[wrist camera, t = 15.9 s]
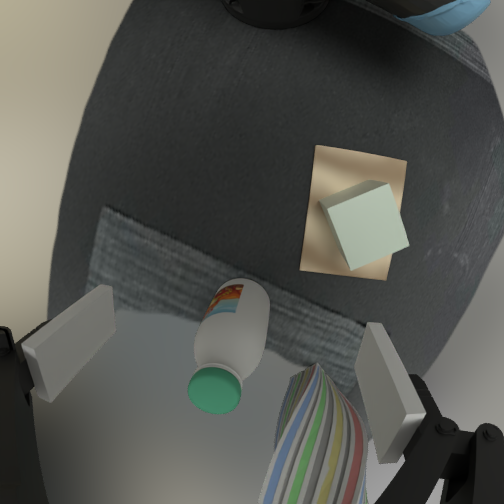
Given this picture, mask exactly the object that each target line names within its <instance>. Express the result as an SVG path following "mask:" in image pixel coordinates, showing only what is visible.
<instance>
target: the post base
mask: <svg viewBox="0 0 504 504" xmlns="http://www.w3.org/2000/svg"><path fill="white" fill-rule="evenodd" d="M406 164H407V161H403V160H398V159H394V158H389V157H384V156H379V155H374V154H368V153H363V152H357V151H352V150H346V149H340V148H333V147H327V146H320V145H315V152H314V161H313V170H312V179H311V187H310V195H309V203H308V211H307V218H306V226H305V233H304V240H303V247H302V254H301V261H300V268H299V269H300V270H302V271H311V272H319V273H327V274H336V275H344V276H352V277H361V278H370V279H378V280H386V279H387V274H388V270H389V265H390V261H391V256H392V254H389V255H387V256H385V257H383V258H380V259H378V260H376V261H373V262H371V263H369V264H366V265H364V266H361V267H359V268H357V269H354V270H352V271H351V270H350V269H349V267H348V265H347V263H346V262H345V260H344V258H343V257H342V255H341V253H340V251H339V249H338V247H337V244H336V241H335V239H334V236H333V234H332V231H331V229H330V226H329V224H328V221H327V219H326V216H325V214H324V211H323V209H322V207H321V204H320V202H319V200H320V199H323V198H325V197H327V196H330V195H332V194H335V193H337V192H339V191H342V190H344V189H347V188H349V187H352V186H354V185H356V184H359V183H361V182H364V181H366V180H369V179H370V180H375V181H380V182H385V183H389V185H390V187H391V190H392V193H393V196H394V199H395V202H396V204H397V207H398V210H399V213H400V207H401V201H402V194H403V187H404V180H405V172H406Z"/></svg>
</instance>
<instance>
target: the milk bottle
mask: <svg viewBox="0 0 504 504" xmlns="http://www.w3.org/2000/svg"><path fill="white" fill-rule="evenodd" d="M269 313H270V300H269V297H268V294H267V293H266V291H265V290H264V288H263V287H262V286H261V285H259V284H258V283H256V282H254V281H252V280H249V279H245V278H237V279H232V280H229V281H227V282H226V283H224V284H223V285H222V286H221V287H220V288H219V289H218V291H217V293H216V294H215V296H214V298H213V300H212V302H211V304H210V305H209V307H208V309H207V311H206V313H205V315H204V317H203V319H202V321H201V323H200V325H199V328H198V330H197V333H196V336H195V340H194V355H195V360H196V363H197V367H198V368H197V369H196V370H195V371H194V373H193V376H192V378H191V380H190V383H189V385H188V395H189V398H190V400H191V401H192V403H193V404H194V405H195V406H196V407H198V408H199V409H201V410H203V411H205V412H208V413H212V414H225V413H228V412H230V411H232V410H233V409H235V408H236V406H237V405H238V403H239V401H240V397H241V391H242V386H243V385H242V381H243V380H244V379H246V378H247V377H248V376H249V375H251V374H252V373H253V372H254V370H255V369H256V368H257V366H258V365H259V363H260V361H261V359H262V356H263V353H264V348H265V343H266V337H267V330H268V322H269Z"/></svg>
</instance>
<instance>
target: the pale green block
mask: <svg viewBox="0 0 504 504" xmlns="http://www.w3.org/2000/svg"><path fill="white" fill-rule="evenodd" d="M319 202H320V204H321V207H322V209H323V211H324V214H325V216H326V219H327V221H328V224H329V226H330V229H331V231H332V234H333V236H334V239H335V241H336V244H337V247H338V249H339V251H340V253H341V255H342V257H343V258H344V260H345V262H346V263H347V265H348V267H349V269H350V270H351V271H352V270H354V269H357V268H359V267H361V266H364V265H366V264H369V263H371V262H373V261H376V260H378V259H380V258H383V257H385V256H387V255H389V254H392V253H394V252H396V251H399V250H401V249H403V248H405V247H408V246H409V242H408V239H407V236H406V232H405V229H404V226H403V223H402V220H401V217H400V213H399V210H398V207H397V204H396V202H395V199H394V196H393V193H392V190H391V187H390V185H389V183H385V182H380V181H375V180H370V179H369V180H366V181H364V182H361V183H359V184H356V185H354V186H352V187H349V188H347V189H344V190H342V191H339V192H337V193H335V194H332V195H330V196H327V197H325V198H323V199H320V200H319Z"/></svg>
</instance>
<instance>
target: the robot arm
mask: <svg viewBox="0 0 504 504" xmlns="http://www.w3.org/2000/svg"><path fill="white" fill-rule="evenodd" d="M366 1H368V2H370V3H372V4H374V5H376V6H378V7H380V8H382V9H384V10H386V11H388V12H389V13H391V14H393V16H394V17H395V18H397V19H399V20H401V21H406V22H408V23H409V24H411V25H413V26H415V27H417V28H418V29H420V30H422V31H423V32H425V33H427V34H430V35H440V36H445V35H450V34H452V33H455V32H457V31H459V30H461V29H463V28H464V27H466V26H467V25H469V24H470V23H471V22H473V21H474V20H475V19H476V18H477V17H479V15H481V14H482V13H483V12H484V11H485V9H486V8H487V7H488V6H489V5H490V3H491V2H490V0H366ZM222 2H223V4H224V6H225V7H226V8H227V10H228V11H229V12H230V13H231V14H232V15H233V16H235V17H236V18H238V19H239V20H241V21H243V22H245V23H247V24H250V25H253V26H256V27H260V28H267V29H285V28H292V27H296V26H300V25H302V24H305V23H307V22H309V21H311V20H313V19H314V18H316V17H317V16H318V15H319V14H321V13H322V11H323V10H324V9H325V8H326V6H327V4H328V2H329V0H222ZM115 332H116V325H115V314H114V303H113V289H112V286H107V285H102V284H100V285H99V286H97V287H96V288H95V289H93V290H92V291H90V292H89V293H88V294H86V295H85V296H84V297H82V298H81V299H79V300H78V301H77V302H75V303H74V304H73V305H71V306H70V307H69V308H67V309H66V310H65V311H63V312H62V313H61V314H59V315H58V316H57V317H55V318H54V319H51V320H48V321H45V322H43V323H41V324H40V325H39V326H37V327H36V329H33V330H32V331H31V332H30V333H28V334H27V335H26V336H24V337H23V338H22V339H20V340H19V341H18V342H17V343H16V344H14V340H13V337H12V332H11V330H10V329H9V328H8V327H5V326H0V504H49V502H48V498H47V495H46V490H45V486H44V481H43V476H42V471H41V467H40V461H39V454H38V448H37V441H36V434H35V425H34V416H33V405H32V396H31V393H30V390H31V389H32V388H33V387H35V389H36V392H37V395H38V397H40V398H42V399H44V400H46V401H48V402H52V401H53V400H54V399H55V398H56V397H57V395H58V394H59V393H60V392H61V391H62V390H63V389H64V387H65V386H66V385H67V384H68V383H69V382H70V381H71V380H72V379H73V377H74V376H75V375H76V374H77V373H78V372H79V371H80V370H81V369H82V368H83V367H84V365H85V364H86V363H87V362H88V361H89V360H90V359H91V358H92V357H93V356H94V354H96V352H97V351H98V350H99V349H100V348H101V347H102V346H103V345H104V344H105V343H106V342H107V341H108V340H109V338H110V337H111V336H112V335H113V334H114V333H115ZM354 369H355V372H356V376H357V379H358V383H359V387H360V390H361V394H362V398H363V401H364V405H365V409H366V413H367V417H368V420H369V424H370V428H371V432H372V436H373V440H374V445H375V449H376V453H377V457H378V462H379V464H384V463H397V462H398V460H399V458H400V457H401V455H402V454H404V457H405V462H404V464H403V465H402V467H401V468H400V470H399V471H398V472H397V474H396V476H395V477H394V478H393V480H392V481H391V482H390V484H389V485H388V486H387V488H386V489H385V491H384V492H383V493H382V494H381V496H380V497H379V498H378V500H377V501H376V502H375V503H374V504H425V503H426V502H427V500H428V498H429V496H430V495H431V493H432V491H433V489H434V487H435V485H436V483H437V481H438V479H439V478H440V479H444V485H443V490H442V495H441V500H440V504H504V436H503V433H502V431H501V430H500V429H499V428H498V427H497V426H495V425H492V424H490V423H484V424H481V425H480V426H479V427H478V428H477V429H476V431H475V432H468V431H461V430H459V427H458V425H457V424H456V423H455V422H454V421H452V420H451V419H449V418H446V417H442V415H441V413H440V411H439V409H438V407H437V405H436V403H435V401H434V399H433V397H431V394H430V391H428V388H427V386H426V384H425V382H424V381H423V380H422V379H421V378H420V377H419V376H418V375H417V374H407V372H406V370H405V368H404V366H403V364H402V362H401V360H400V358H399V356H398V354H397V352H396V350H395V348H394V346H393V344H392V342H391V340H390V338H389V336H388V335H387V333H386V331H385V329H384V327H383V325H382V323H372V322H367V325H366V329H365V332H364V336H363V340H362V343H361V346H360V350H359V353H358V356H357V360H356V363H355V366H354Z"/></svg>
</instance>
